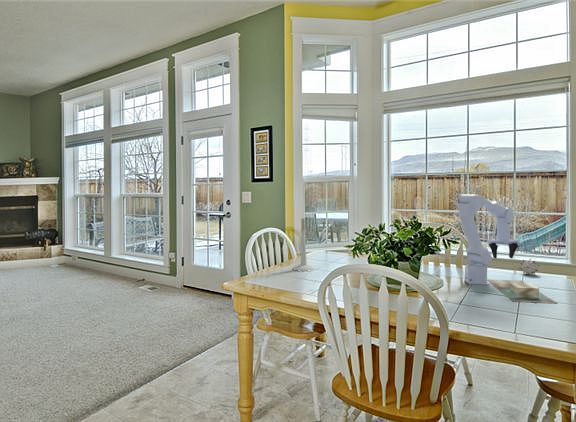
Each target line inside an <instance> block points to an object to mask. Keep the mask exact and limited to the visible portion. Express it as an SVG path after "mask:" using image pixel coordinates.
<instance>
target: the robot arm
mask: <svg viewBox="0 0 576 422" xmlns="http://www.w3.org/2000/svg"><path fill="white" fill-rule="evenodd" d="M456 206H457V210H458V215H459V219H460V223H461V225H462V227H463V228H462V229H463V230H464V234H465V237H466V240H467V244H468V246H469V247H467V249H466V250H465V251H466V260H467V261H468V262H469V263H467V264H465V266H464V281H465V282H466V283H467V284H469V285H484V286H486V285H488V286H489V285H491V283H489V282H488V281H487V279H488V266H489V265H490V264H491V263H492V260H493V258H494V259H497V258H498V247H499V245H503V244H504V245H506V244H507V245H508V251H509V252H508V253H509V254H508V257H509V259H513V258H514V256H515V254H516V253H515V252H516V251H517V249H518V247H519V245H520V243H521V240H520V239H511V225H512V224H511V223H512V221H513V218H514V215H515V214H514V213H515V212H514V210H513V209H512V208H510V207H506V206H505V205H504V204H500V203H499V202H498V201H490V200H489V199H486V198H485V197H484V195H481V194H472V193H471V194H469V193H468V194H465V193H461V194H459V195H458V196H457V200H456ZM481 207H483V208H485V209H486V211H487V212H488V213H490V214H492V215H494V217H495V218H496V220H497V222H496V225H497V226H496V227H497V228H496V238H495V239H487V242H486V243H487V245H488V246H489V248H490V250H491V252H489V249H488V248H487V247H485V245H483V244H482V241H481V237H480V234H479V231H478V227H477V224H476V222H475V219H474V216H475V215H476V214H477V213H478V211H479V210H480V209H481ZM497 244H498V245H497ZM491 253H492V254H491Z"/></svg>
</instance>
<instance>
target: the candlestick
mask: <svg viewBox="0 0 576 422" xmlns="http://www.w3.org/2000/svg"><path fill="white" fill-rule="evenodd" d="M300 221H301V227H300V228H301V229H300V230H299V231H300V234H301V246H300V247H301V248H300V250H301V251H300V263H299V264H297V265H295V266H293V267H292V270H293V269H295V270H300V271H307V272H309V271H308V270H313V269H316V267H315V266H313V265H312V264H309V263H308V261H307V249H306V248H307V245H306V236H305V235H306V231H307V230H306V223H305V222H306V219H305V218H301V220H300ZM295 270H294V271H295ZM300 271H299V272H300ZM313 271H314V270H313Z"/></svg>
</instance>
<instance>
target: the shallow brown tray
mask: <svg viewBox="0 0 576 422" xmlns="http://www.w3.org/2000/svg"><path fill="white" fill-rule="evenodd" d="M487 282H488V283H490V285H492V286H493V287H494V288H496V289H497V290H498V291H500V293H501V294H503V295H504V296H506V298H508V299H509V300H510V301H512V302H515V303H532V304H533V303H535V304H558V302H557V301H555V300H553V299H551V298H550V297H549V296H547V295H545V294H543V293H542V292H541V291H539V298H532V297H517V296H516V295H514V294H513V293H512V292H510V283H525V281H523V280H514V279H513V280H511V279H488V278H487Z"/></svg>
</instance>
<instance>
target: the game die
mask: <svg viewBox="0 0 576 422" xmlns="http://www.w3.org/2000/svg"><path fill="white" fill-rule="evenodd" d="M522 261H523V262H520V267H518V269H519V270H521V271H522V273H523V274H527V276H529V275H532V274H534V275H536V272H539V269H538V267H540V265H539V264H537V263H536V260H532V259H531V258H529V259H527V260H524V259H522Z"/></svg>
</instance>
